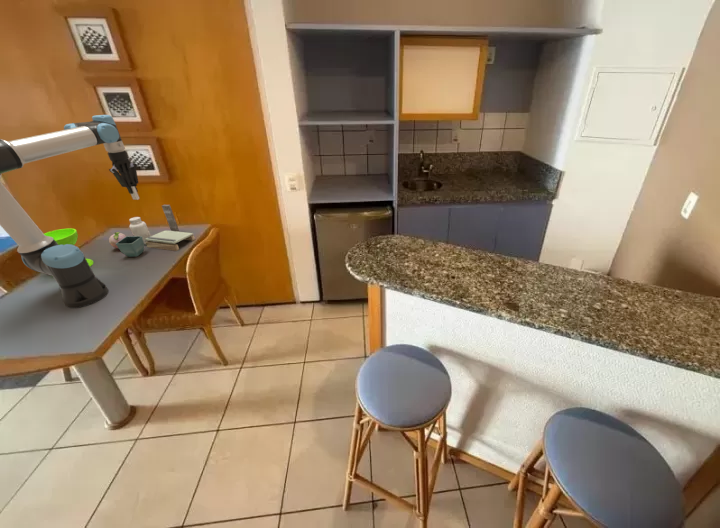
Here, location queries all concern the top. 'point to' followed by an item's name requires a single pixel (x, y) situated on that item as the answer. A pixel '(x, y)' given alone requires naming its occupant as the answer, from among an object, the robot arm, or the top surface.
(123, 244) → the flower pot
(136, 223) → the pill bottle
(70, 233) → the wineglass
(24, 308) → the top surface
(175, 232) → the panel
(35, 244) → the robot arm
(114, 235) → the decorative fruit
